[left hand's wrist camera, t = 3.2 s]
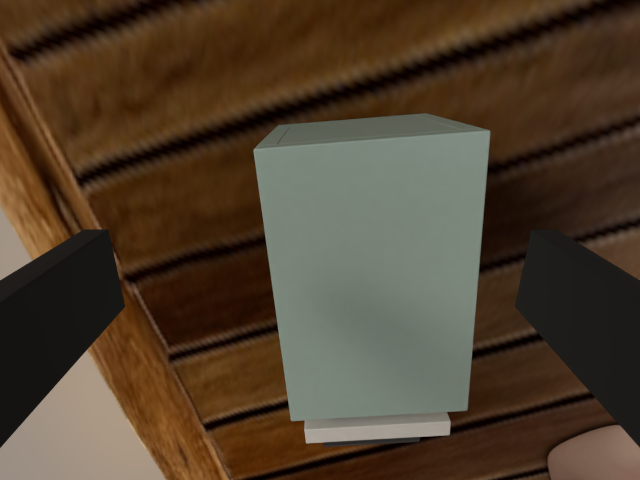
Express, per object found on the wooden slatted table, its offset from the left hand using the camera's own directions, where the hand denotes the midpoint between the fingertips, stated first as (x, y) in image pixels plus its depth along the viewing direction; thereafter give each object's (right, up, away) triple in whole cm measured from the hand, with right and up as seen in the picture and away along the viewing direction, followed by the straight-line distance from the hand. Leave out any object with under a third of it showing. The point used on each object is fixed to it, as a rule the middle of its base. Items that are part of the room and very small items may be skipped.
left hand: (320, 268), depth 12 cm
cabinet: (+3, +2, +18) cm, 18 cm away
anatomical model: (+30, -22, +28) cm, 46 cm away
